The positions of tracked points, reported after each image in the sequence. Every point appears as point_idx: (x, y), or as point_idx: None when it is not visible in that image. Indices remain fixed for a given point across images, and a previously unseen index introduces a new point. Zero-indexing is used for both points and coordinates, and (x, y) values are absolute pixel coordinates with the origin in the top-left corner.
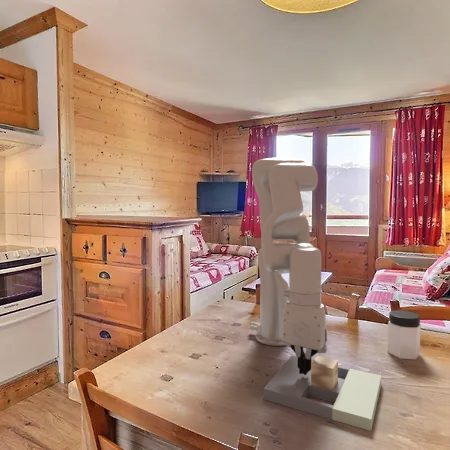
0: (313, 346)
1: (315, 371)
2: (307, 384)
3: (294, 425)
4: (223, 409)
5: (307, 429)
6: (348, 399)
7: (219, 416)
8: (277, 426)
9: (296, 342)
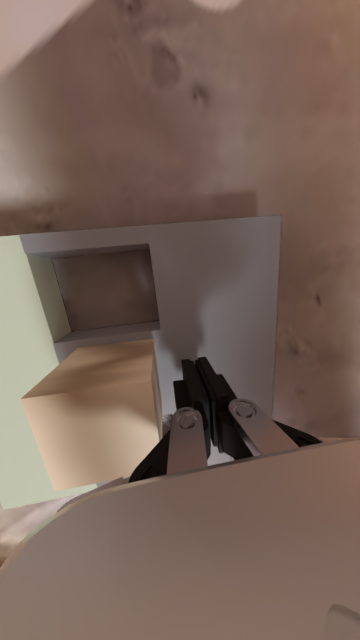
0: (110, 526)
1: (131, 364)
2: (163, 332)
3: (124, 140)
4: (344, 93)
5: (82, 143)
6: (8, 327)
7: (343, 41)
8: (165, 100)
9: (333, 486)
